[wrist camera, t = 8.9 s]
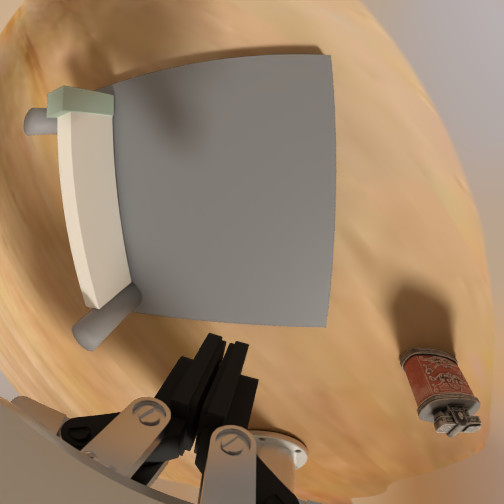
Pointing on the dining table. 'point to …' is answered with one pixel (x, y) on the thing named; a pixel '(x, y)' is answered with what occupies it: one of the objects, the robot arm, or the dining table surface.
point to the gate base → (222, 192)
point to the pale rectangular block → (90, 191)
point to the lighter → (441, 391)
